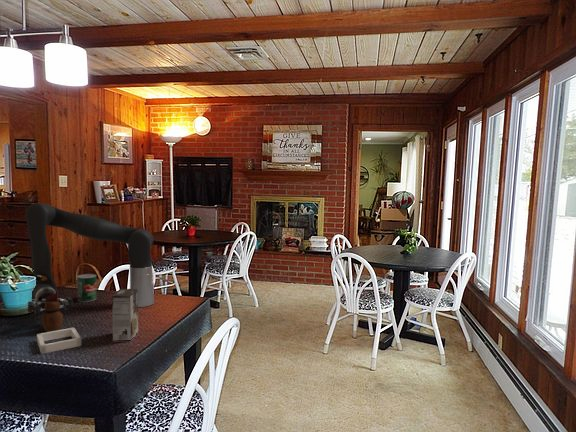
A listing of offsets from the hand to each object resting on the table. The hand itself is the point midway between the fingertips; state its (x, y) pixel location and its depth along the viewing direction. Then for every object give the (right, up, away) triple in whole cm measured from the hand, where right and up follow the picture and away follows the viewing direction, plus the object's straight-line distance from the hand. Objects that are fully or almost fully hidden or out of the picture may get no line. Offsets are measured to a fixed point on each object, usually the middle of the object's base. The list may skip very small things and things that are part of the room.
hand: (53, 309), depth 145 cm
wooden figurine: (-1, -9, +2) cm, 9 cm away
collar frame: (+7, -9, -9) cm, 15 cm away
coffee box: (+27, -9, -2) cm, 28 cm away
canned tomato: (-8, -5, +41) cm, 42 cm away
